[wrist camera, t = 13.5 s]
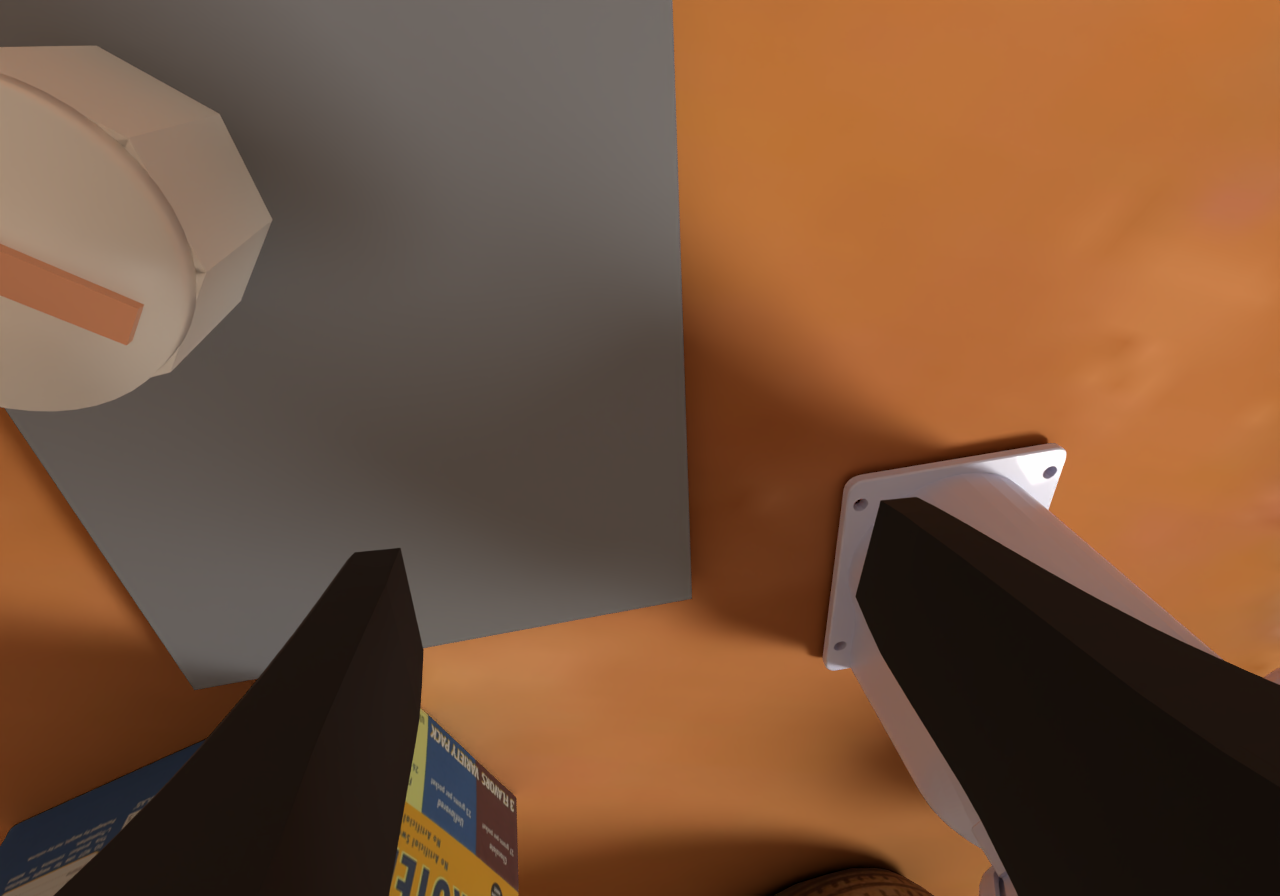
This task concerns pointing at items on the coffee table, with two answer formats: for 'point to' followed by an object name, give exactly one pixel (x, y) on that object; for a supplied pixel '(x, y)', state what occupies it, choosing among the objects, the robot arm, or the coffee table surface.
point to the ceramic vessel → (857, 884)
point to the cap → (111, 226)
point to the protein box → (427, 848)
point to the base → (405, 323)
